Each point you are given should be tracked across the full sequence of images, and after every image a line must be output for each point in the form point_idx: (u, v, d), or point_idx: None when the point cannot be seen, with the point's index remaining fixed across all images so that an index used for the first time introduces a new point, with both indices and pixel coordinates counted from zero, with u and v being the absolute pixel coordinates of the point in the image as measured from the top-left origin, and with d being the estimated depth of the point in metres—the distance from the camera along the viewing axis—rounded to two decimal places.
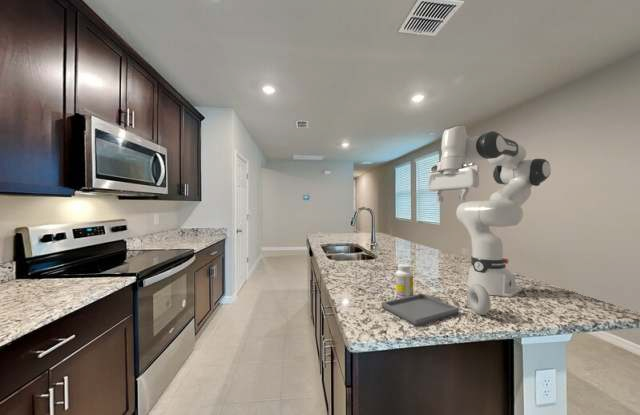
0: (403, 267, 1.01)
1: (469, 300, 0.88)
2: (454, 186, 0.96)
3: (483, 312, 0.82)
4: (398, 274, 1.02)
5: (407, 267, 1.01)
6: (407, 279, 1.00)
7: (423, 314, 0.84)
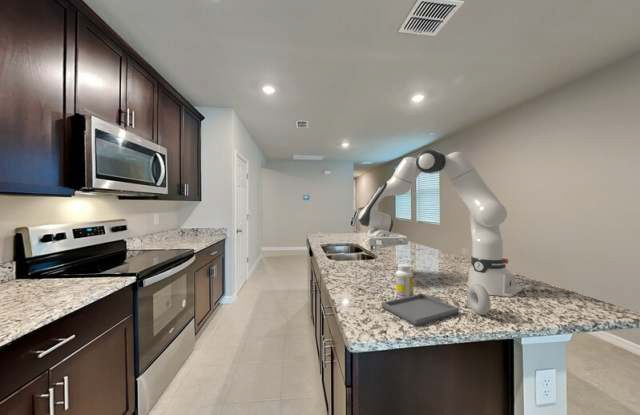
0: (403, 267, 1.01)
1: (469, 300, 0.88)
2: None
3: (483, 312, 0.82)
4: (398, 274, 1.02)
5: (407, 267, 1.01)
6: (407, 279, 1.00)
7: (423, 314, 0.84)
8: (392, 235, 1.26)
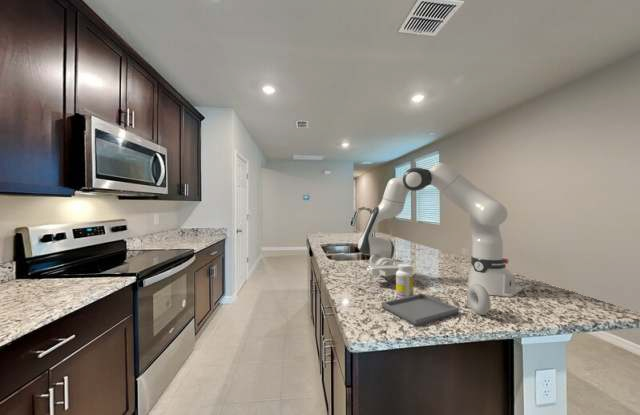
0: (403, 267, 1.01)
1: (469, 300, 0.88)
2: None
3: (483, 312, 0.82)
4: (398, 274, 1.02)
5: (407, 267, 1.01)
6: (407, 279, 1.00)
7: (423, 314, 0.84)
8: (396, 263, 1.22)
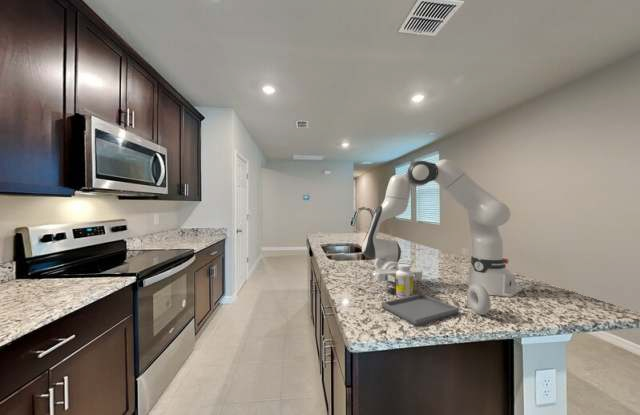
0: (403, 267, 1.01)
1: (469, 300, 0.88)
2: None
3: (483, 312, 0.82)
4: (398, 274, 1.02)
5: (407, 267, 1.01)
6: (407, 279, 1.00)
7: (423, 314, 0.84)
8: None
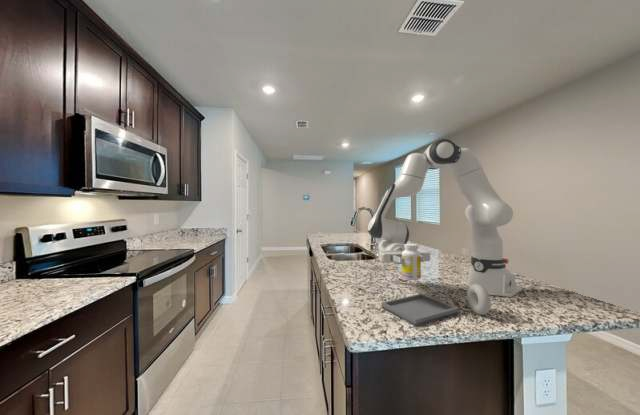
0: (410, 246, 0.93)
1: (469, 300, 0.88)
2: None
3: (483, 312, 0.82)
4: (404, 254, 0.94)
5: (414, 246, 0.93)
6: (414, 259, 0.92)
7: (423, 314, 0.84)
8: None
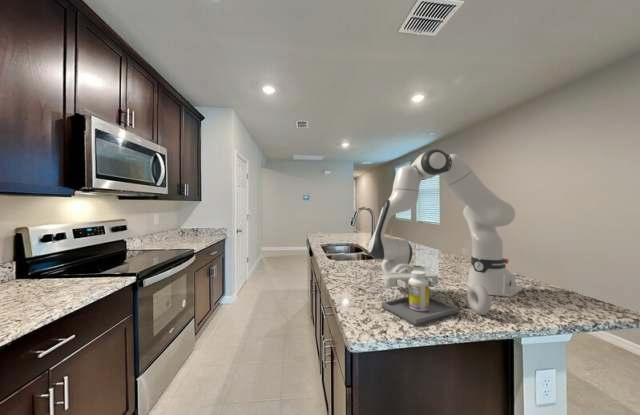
0: (417, 274, 0.87)
1: (469, 300, 0.88)
2: None
3: (483, 312, 0.82)
4: (411, 283, 0.87)
5: (422, 275, 0.87)
6: (422, 289, 0.85)
7: (423, 314, 0.84)
8: None
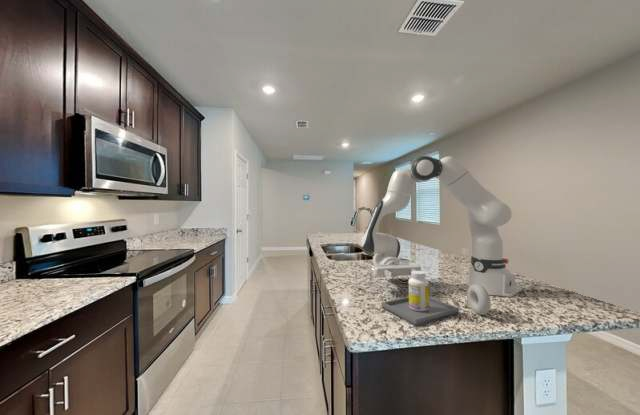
0: (417, 274, 0.87)
1: (469, 300, 0.88)
2: None
3: (483, 312, 0.82)
4: (411, 283, 0.87)
5: (422, 275, 0.87)
6: (422, 289, 0.85)
7: (423, 314, 0.84)
8: (402, 263, 1.12)
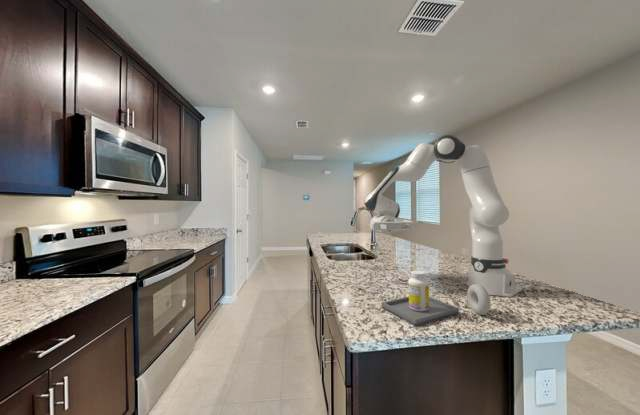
0: (417, 274, 0.87)
1: (469, 300, 0.88)
2: (387, 230, 1.15)
3: (483, 312, 0.82)
4: (411, 283, 0.87)
5: (422, 275, 0.87)
6: (422, 289, 0.85)
7: (423, 314, 0.84)
8: (397, 220, 1.21)
